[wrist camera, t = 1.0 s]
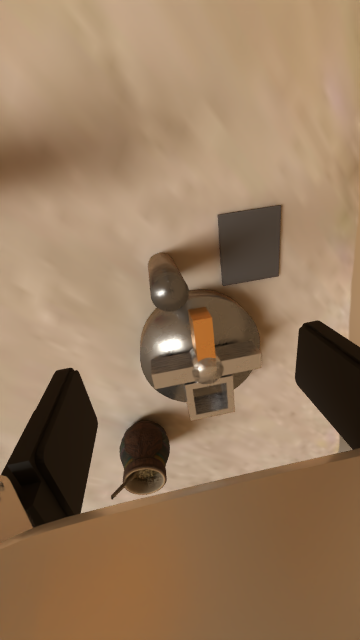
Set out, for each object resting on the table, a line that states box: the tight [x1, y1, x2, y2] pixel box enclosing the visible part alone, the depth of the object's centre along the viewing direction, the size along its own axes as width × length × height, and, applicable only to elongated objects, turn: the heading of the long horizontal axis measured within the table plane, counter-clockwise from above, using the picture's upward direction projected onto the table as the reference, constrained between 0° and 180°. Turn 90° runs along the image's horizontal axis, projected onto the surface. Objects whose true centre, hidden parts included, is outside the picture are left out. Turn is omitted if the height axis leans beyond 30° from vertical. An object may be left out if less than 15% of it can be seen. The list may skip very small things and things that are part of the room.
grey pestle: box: [148, 253, 189, 312], centre depth 24 cm, size 3×3×10 cm
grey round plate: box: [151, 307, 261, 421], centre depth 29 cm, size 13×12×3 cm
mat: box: [218, 205, 281, 286], centre depth 29 cm, size 8×7×1 cm
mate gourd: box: [111, 421, 170, 499], centre depth 34 cm, size 7×8×10 cm
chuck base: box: [140, 290, 260, 402], centre depth 32 cm, size 15×15×3 cm
